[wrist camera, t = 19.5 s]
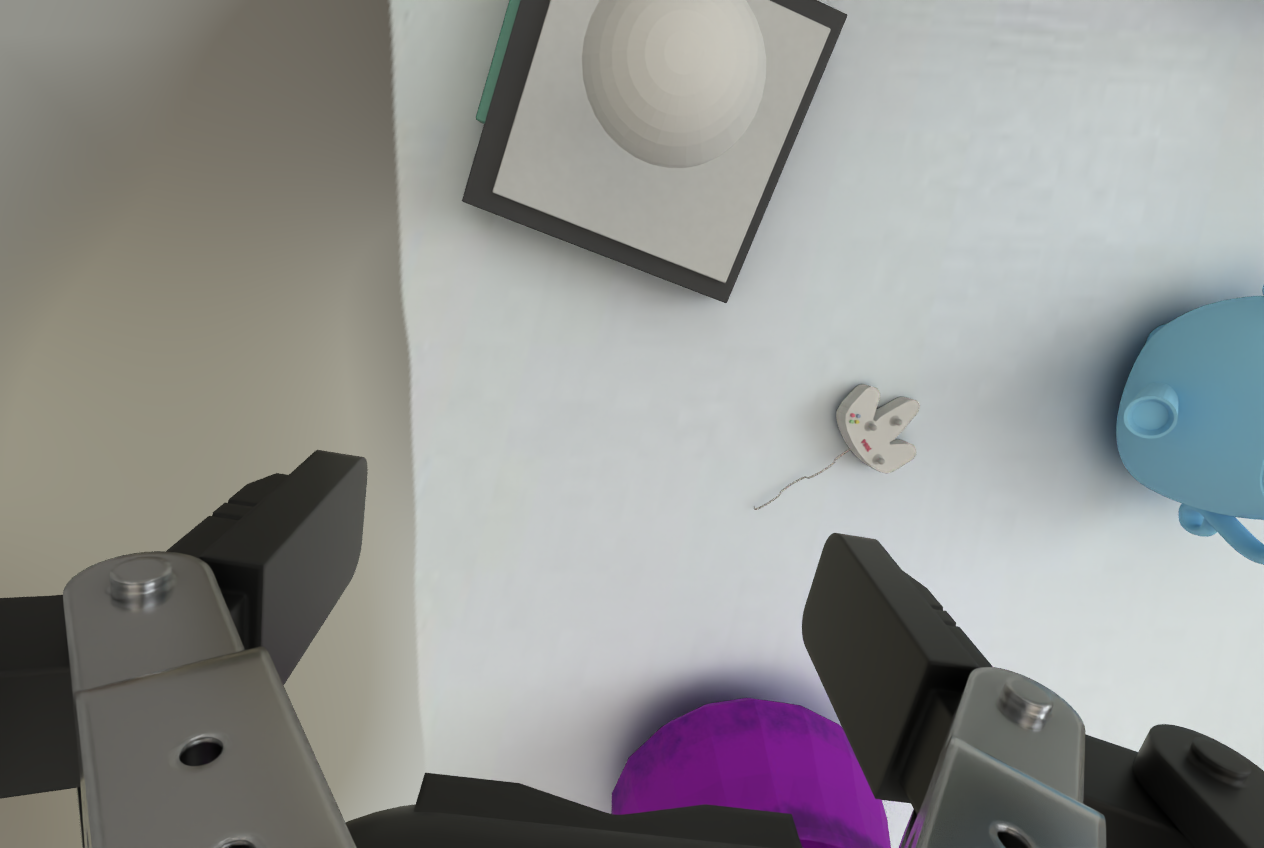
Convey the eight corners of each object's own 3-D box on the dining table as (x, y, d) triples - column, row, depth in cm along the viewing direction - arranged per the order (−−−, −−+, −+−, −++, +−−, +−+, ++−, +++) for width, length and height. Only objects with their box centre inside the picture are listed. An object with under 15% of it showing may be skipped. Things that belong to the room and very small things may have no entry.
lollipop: (732, 122, 34) (828, 70, 20) (643, 202, 35) (673, 207, 21) (653, 14, 33) (696, -126, 18) (562, 102, 34) (535, 33, 19)
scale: (461, 196, 38) (448, 196, 35) (548, -102, 34) (542, -134, 31) (717, 295, 40) (728, 304, 37) (828, 28, 36) (851, 12, 33)
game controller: (933, 414, 43) (953, 427, 41) (817, 548, 46) (829, 568, 44) (866, 365, 42) (883, 376, 40) (752, 506, 45) (760, 524, 42)
